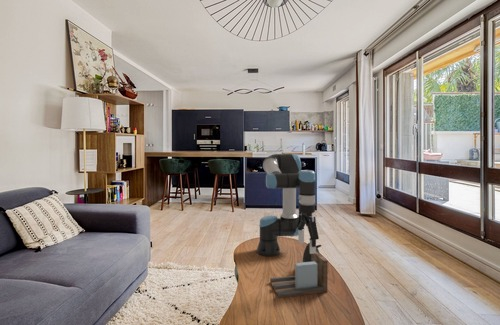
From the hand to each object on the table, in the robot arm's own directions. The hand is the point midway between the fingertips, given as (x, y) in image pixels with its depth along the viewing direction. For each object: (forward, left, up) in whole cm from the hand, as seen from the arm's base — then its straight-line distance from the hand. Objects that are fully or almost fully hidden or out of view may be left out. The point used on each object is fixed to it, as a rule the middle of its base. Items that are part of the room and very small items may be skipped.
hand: (306, 247), depth 126 cm
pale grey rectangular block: (0, 0, -20) cm, 20 cm away
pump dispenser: (-20, +12, -21) cm, 31 cm away
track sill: (-3, -3, -21) cm, 21 cm away
